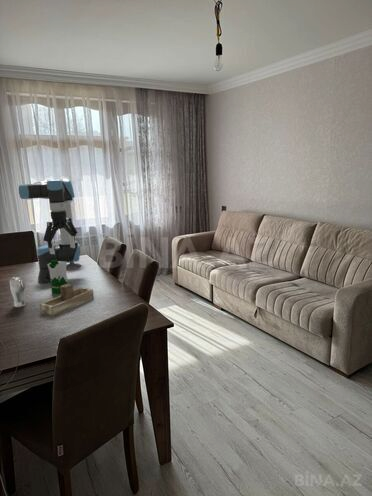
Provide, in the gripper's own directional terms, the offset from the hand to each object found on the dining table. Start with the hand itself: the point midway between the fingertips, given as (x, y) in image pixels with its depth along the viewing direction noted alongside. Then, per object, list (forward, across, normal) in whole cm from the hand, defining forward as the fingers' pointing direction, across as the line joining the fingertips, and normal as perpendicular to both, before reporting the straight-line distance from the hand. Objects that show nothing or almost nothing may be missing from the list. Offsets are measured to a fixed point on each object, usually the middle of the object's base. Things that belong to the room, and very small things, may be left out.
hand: (63, 250), depth 182 cm
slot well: (+29, -4, -4) cm, 29 cm away
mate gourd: (+31, +54, +56) cm, 84 cm away
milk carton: (+29, +9, +17) cm, 35 cm away
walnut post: (+28, -4, -4) cm, 28 cm away
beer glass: (+29, -15, +21) cm, 39 cm away
